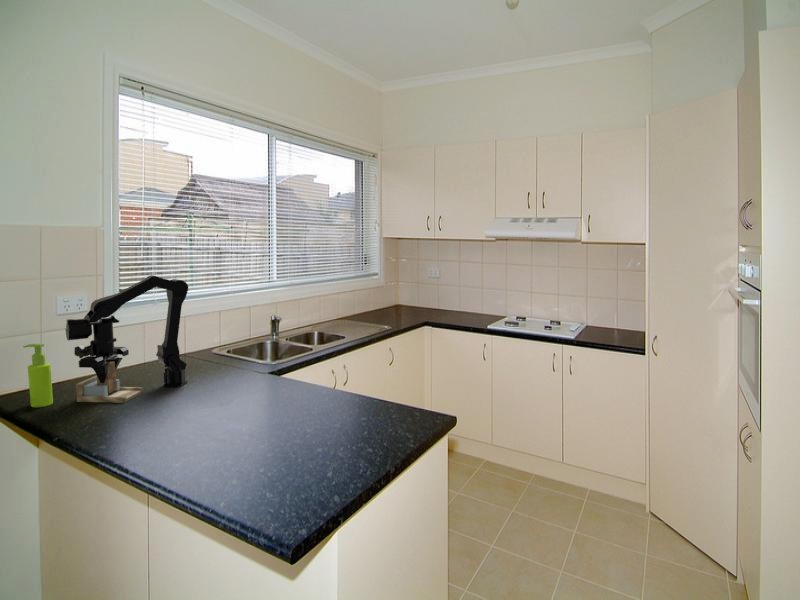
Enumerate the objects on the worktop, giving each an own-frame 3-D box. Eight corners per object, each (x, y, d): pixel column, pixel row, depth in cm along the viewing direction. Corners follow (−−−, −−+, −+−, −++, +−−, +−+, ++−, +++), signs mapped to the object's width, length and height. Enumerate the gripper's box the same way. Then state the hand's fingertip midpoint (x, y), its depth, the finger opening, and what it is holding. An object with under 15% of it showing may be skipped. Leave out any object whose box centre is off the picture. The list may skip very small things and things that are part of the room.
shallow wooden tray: (142, 392, 171) (141, 375, 170) (124, 402, 160) (123, 385, 159) (97, 391, 171) (96, 375, 170) (77, 401, 160) (75, 384, 159)
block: (120, 389, 170) (119, 379, 169) (105, 397, 161) (104, 386, 161) (100, 389, 170) (99, 378, 169) (84, 396, 161) (83, 386, 161)
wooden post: (105, 389, 167) (103, 361, 166) (116, 389, 167) (114, 361, 166) (97, 393, 163) (95, 364, 162) (109, 393, 163) (107, 364, 162)
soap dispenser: (35, 401, 160) (30, 342, 157) (57, 401, 160) (52, 342, 158) (23, 407, 154) (18, 346, 151) (45, 407, 154) (41, 346, 152)
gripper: (97, 331, 172) (100, 373, 174) (60, 342, 154) (63, 389, 156) (128, 331, 172) (130, 373, 174) (95, 342, 154) (98, 389, 156)
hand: (106, 381), depth 165 cm, fingers closed on wooden post, 4 cm apart
